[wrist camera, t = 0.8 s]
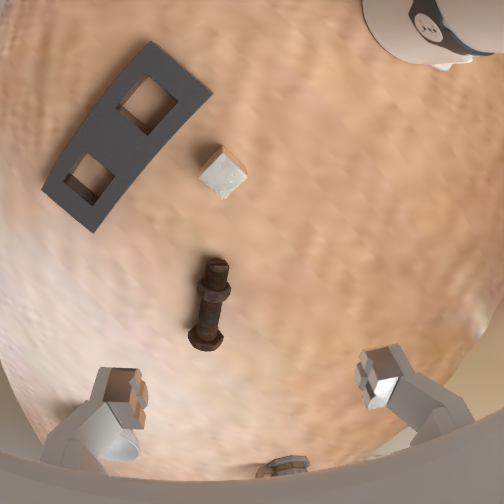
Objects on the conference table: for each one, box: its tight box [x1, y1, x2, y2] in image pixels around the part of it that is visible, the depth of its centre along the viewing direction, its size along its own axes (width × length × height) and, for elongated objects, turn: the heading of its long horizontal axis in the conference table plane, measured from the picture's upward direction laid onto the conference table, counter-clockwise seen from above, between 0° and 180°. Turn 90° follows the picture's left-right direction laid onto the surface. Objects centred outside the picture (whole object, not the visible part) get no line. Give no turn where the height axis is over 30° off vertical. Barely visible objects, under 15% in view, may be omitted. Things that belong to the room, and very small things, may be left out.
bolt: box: [188, 259, 231, 351], centre depth 49 cm, size 6×5×15 cm
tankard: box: [256, 456, 310, 479], centre depth 78 cm, size 20×13×15 cm, turn 64°
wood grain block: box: [198, 146, 248, 200], centre depth 38 cm, size 4×4×5 cm
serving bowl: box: [101, 429, 140, 461], centre depth 66 cm, size 21×21×7 cm
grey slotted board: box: [41, 41, 214, 234], centre depth 36 cm, size 24×10×3 cm, turn 134°
